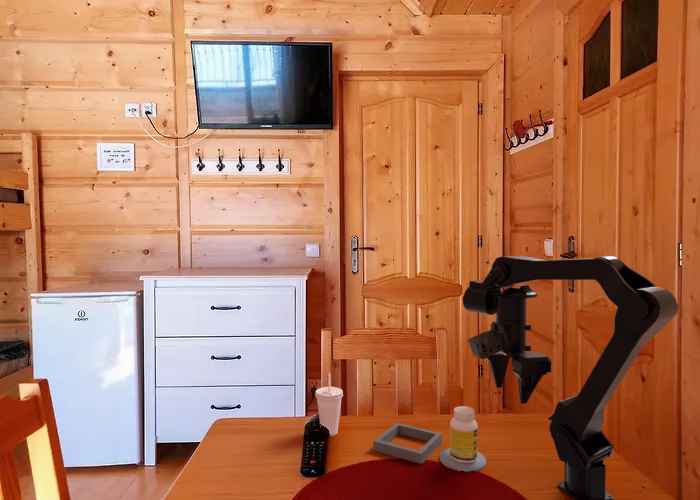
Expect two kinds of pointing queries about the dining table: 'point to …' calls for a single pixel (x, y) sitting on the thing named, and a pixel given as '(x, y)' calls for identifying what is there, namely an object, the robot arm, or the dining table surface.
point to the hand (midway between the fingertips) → (510, 395)
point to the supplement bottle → (463, 435)
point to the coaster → (465, 467)
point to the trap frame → (404, 452)
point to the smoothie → (329, 406)
